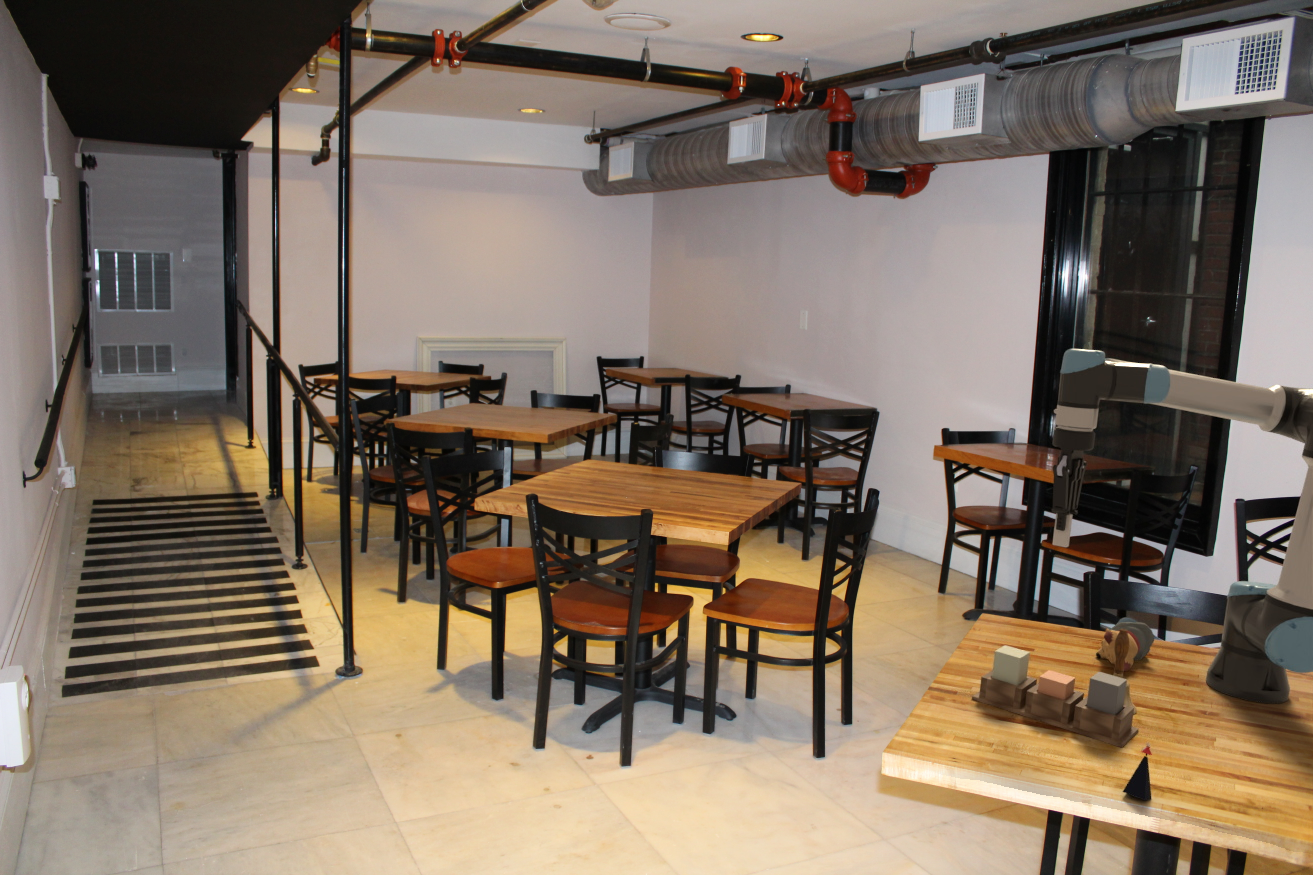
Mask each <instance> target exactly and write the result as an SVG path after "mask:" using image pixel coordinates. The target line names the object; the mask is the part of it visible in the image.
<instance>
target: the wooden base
mask: <svg viewBox="0 0 1313 875" xmlns="http://www.w3.org/2000/svg"><path fill="white" fill-rule="evenodd" d="M992 672H993V669H992V670H991V671H989V672H986V674H983V675H982V676H981V678H980V685H979V691H978V692H977V693H975V694H974V695H972V696H971V700H972V701H973V700H974V701H978V702H979V703H983V704H986V705H989V706H992V707H995V708H999V709H1000V710H1001V709H1002V710H1005V711H1006V712H1007V711H1009V712H1011V713H1013V714H1017V715H1021V716H1022V717H1023V716H1024V717H1027V718H1029V719H1032V720H1034V721H1039V722H1041V723H1045V724H1048V725H1051V726H1054V727H1058V728H1059V729H1060V728H1061V729H1063V730H1067V731H1070V732H1072V733H1076V734H1078V735H1082V736H1085V737H1088V738H1091V739H1095V740H1097V741H1100V742H1104V743H1107V744H1110V745H1112V746H1116V747H1120V748H1123V747H1124V746H1125V745H1126V744H1128V742H1129V741H1130V740H1131V739H1132V738H1133V737H1134V736H1135V735H1136V734H1137V733H1138V732H1139V727H1136V726H1133V719H1134V715H1133V713H1134V707H1130V706H1127V705H1123V710H1122V711H1121V712H1120V713H1119V714H1118V715H1116V716H1115V715H1112V714H1109V713H1105V712H1102V711H1099V710H1096V709H1092V708H1089V707H1086V706H1087V698H1088V695H1087V696H1086V697H1085V692H1082V691H1080V690H1076V689H1074V693H1073V695H1072V696H1070V697H1069V698H1068V699H1067V700H1063V699H1060V698H1056V697H1053V696H1050V695H1046V694H1043V693H1040V692H1038V685H1039V682H1038V678H1035V677H1033V676H1029V675H1027V680H1026V681H1024V682H1023V683H1021V684H1020V685H1018V686H1017V685H1014V684H1010V683H1007V682H1004V681H1001V680H997V679H994V678H992Z"/></svg>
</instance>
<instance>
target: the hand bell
mask: <svg viewBox="0 0 1313 875" xmlns="http://www.w3.org/2000/svg"><path fill="white" fill-rule="evenodd" d="M1128 650H1129V637H1128V632H1127V630H1126V629H1120V631H1119V634H1118V635H1117V637H1116V640H1115V646H1114V651H1115V657H1116V662H1115V664H1114V668H1113V676H1116V677H1120V678H1123V679H1124V661H1125V658H1126V656H1127V654H1128ZM1130 693H1131V691H1130V682H1129V681H1128V680H1127V683H1126V691H1125V698H1124V705H1127V706H1130V707H1134V713H1133V716H1134V715H1136V713H1138V709H1137V707H1136V705H1135V704H1134V703H1133V701H1132V698H1131V694H1130Z"/></svg>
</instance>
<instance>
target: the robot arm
mask: <svg viewBox="0 0 1313 875" xmlns="http://www.w3.org/2000/svg"><path fill="white" fill-rule="evenodd" d="M1059 373H1060V377H1059V386H1058V388H1059V389H1058V398H1057V399H1058V400H1057V405H1056V408H1055V409H1053V413H1054V414H1056V415H1055V419H1054V420H1055V421H1054V422H1055V425H1056V427H1055V428H1054V429H1053V435H1052V444H1051V445H1052V446H1054V447H1056V448H1060V449H1061V450H1060V453H1059V455H1058V457H1057V463H1056V464H1054V465H1053V467H1052V474H1053V486H1052V487H1053V489H1052V490H1053V491H1052V509H1051V513H1054V514H1055V520H1054V528H1053V536H1052V545H1053V546H1056V547H1062V548H1068V547H1069V546H1070V538H1071V531H1072V524H1073V523H1072V522H1073V516H1074V515H1078V514H1079V511H1078V510H1077V509H1078V508H1079V507H1078V506H1079V501H1080V496H1081V492H1082V486H1083V481H1084V478H1085V477H1084V475H1085V471H1086V469H1087V466H1088V461H1085V458H1084V452H1085V451H1087V452H1088V451H1089V452H1090V451H1092V450H1093V449H1094V447H1095V440H1096V432H1095V431H1094V429H1096V428H1097V425H1098V417H1099V408H1100V402H1101V400H1104V401H1115V402H1116V401H1117V402H1128V403H1139V404H1140V403H1141V404H1142V403H1143V404H1145V405H1146V404H1150V405H1156V406H1161V407H1167V408H1171V409H1176V410H1181V411H1187V412H1191V413H1196V414H1200V415H1201V414H1202V415H1207V416H1212V417H1217V418H1222V419H1226V420H1232V421H1235V422H1237V421H1238V422H1241V423H1246V424H1247V423H1248V424H1253V425H1257V426H1258V427H1259V428H1260V430H1262V431H1263V432H1266V433H1267V432H1268V433H1273V434H1277V435H1279V436H1282V437H1285V438H1289V439H1292V440H1295V441H1297V442H1300V443H1302V444H1304V446H1303V450H1302V454H1301V458H1302V459H1303V461H1304V462H1305V463H1306V465H1307V467H1308V468H1307V470H1306V474H1305V479H1304V483H1303V486H1302V487H1303V488H1302V491H1301V495H1300V498H1299V501H1298V506H1297V510H1296V513H1295V518H1294V521H1293V523H1292V524H1293V525H1292V529H1291V533H1290V536H1289V541H1288V544H1287V548H1286V552H1285V556H1284V559H1283V564H1282V567H1281V571H1280V575H1279V579H1278V583H1277V584H1273V583H1265V582H1258V581H1248V580H1247V581H1246V580H1241V581H1239V580H1238V581H1234V582H1232V583H1231V584H1230V586H1229V589H1228V594H1227V595H1226V605H1225V606H1226V607H1225V614H1224V621H1223V629H1222V633H1221V634H1222V635H1221V640H1220V641H1221V642H1220V647H1219V650H1218V651H1217V653H1216V655H1215V656H1214V658H1213V660H1212V661H1211V663H1210V665H1209V667H1208V669H1207V671H1206V678H1205V682H1206V683H1207V684H1208V686H1209V687H1211V688H1212V689H1214V690H1216V691H1217V692H1220V693H1222V694H1225V695H1228V696H1230V697H1233V698H1235V699H1236V698H1237V699H1241V700H1245V701H1250V702H1256V703H1261V704H1283V703H1285V702H1288V701H1289V699H1290V697H1289V696H1290V691H1291V689H1290V688H1291V687H1290V683H1289V679H1288V674H1287V671H1289V672H1292V673H1299V674H1300V673H1301V674H1306V673H1313V388H1305V387H1304V388H1303V387H1291V386H1284V385H1280V384H1273V385H1272V386H1270V387H1263V386H1256V385H1252V384H1247V383H1241V382H1236V381H1231V380H1226V379H1220V378H1215V377H1214V378H1213V377H1210V376H1205V375H1200V374H1199V375H1198V374H1194V373H1190V372H1189V373H1188V372H1184V371H1179V370H1173V369H1168V368H1167V367H1166V366H1164V365H1162V364H1161V365H1160V364H1153V363H1140V362H1139V363H1138V362H1134V361H1133V362H1131V361H1126V360H1120V359H1117V358H1113V357H1111V358H1106V353H1105V351H1102V350H1098V349H1097V350H1096V349H1095V350H1094V349H1084V348H1082V349H1081V348H1069V349H1067V350H1065V352H1064V354H1063V356H1062V363H1061V369H1060V370H1059ZM1073 514H1074V515H1073Z"/></svg>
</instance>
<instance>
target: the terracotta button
mask: <svg viewBox="0 0 1313 875" xmlns="http://www.w3.org/2000/svg"><path fill="white" fill-rule="evenodd" d="M1038 679H1039V680H1038V683H1039V685H1038V692H1040V693H1043V694H1046V695H1050V696H1053V697H1056V698H1060V699H1063V700H1067V699H1068V698H1069V697H1070V696H1072V695H1073V693H1074V690H1075V682H1076V677H1074V676H1070V675H1068V674H1064V673H1060V672H1058V671H1055V670H1049V669H1048V670H1046V671H1045V672H1044V673H1042V674H1041V675H1039V678H1038Z"/></svg>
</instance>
